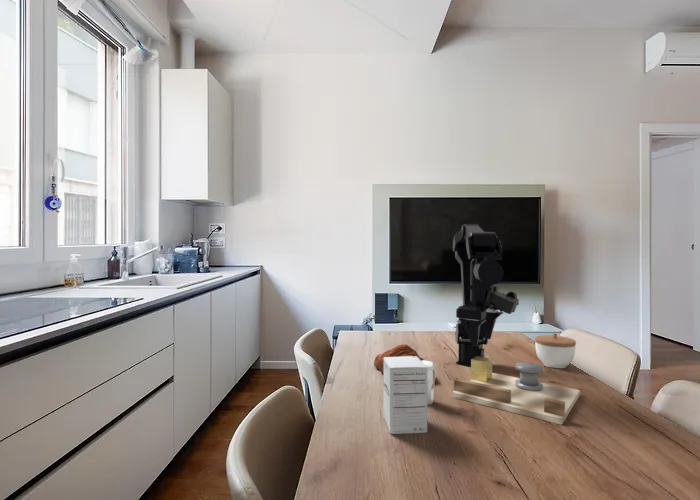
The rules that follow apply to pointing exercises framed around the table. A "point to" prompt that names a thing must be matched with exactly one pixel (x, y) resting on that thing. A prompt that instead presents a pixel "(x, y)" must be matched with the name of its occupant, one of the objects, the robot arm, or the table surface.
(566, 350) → the lidded jar
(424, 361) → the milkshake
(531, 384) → the grey rounded knob
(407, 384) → the supplement box
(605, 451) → the table surface
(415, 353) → the pastry
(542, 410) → the board
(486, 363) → the tab
